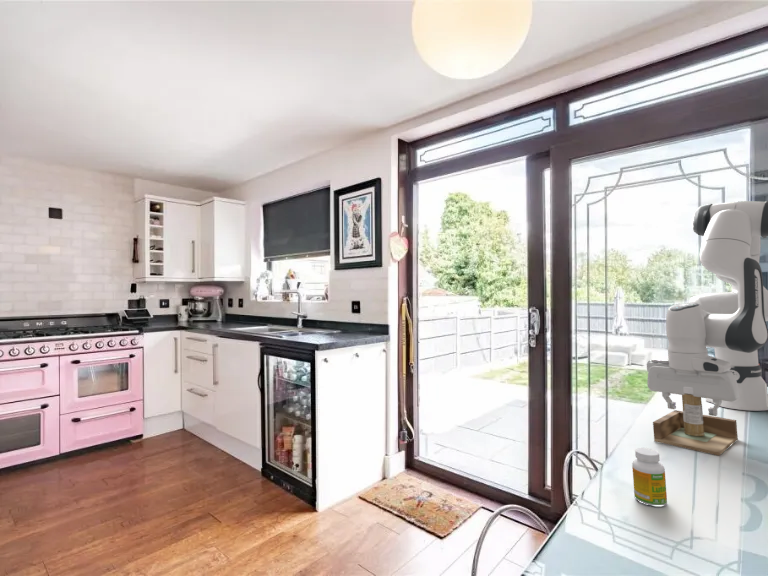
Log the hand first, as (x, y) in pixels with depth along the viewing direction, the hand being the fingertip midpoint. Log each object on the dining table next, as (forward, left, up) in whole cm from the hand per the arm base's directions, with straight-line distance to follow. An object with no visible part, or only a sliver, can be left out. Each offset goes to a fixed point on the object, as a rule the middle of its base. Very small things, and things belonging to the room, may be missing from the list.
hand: (691, 411), depth 110 cm
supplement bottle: (+45, +6, -7) cm, 46 cm away
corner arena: (+2, +1, -7) cm, 7 cm away
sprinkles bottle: (0, 0, -6) cm, 6 cm away
